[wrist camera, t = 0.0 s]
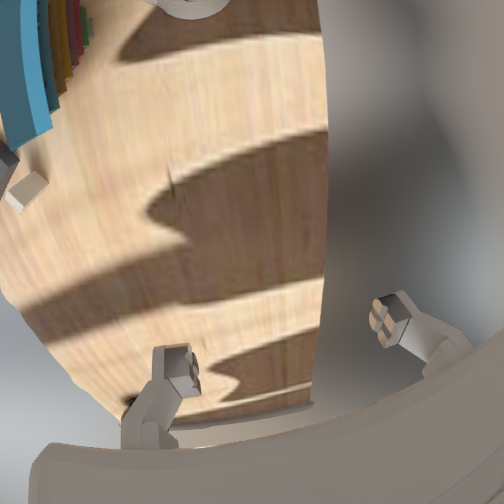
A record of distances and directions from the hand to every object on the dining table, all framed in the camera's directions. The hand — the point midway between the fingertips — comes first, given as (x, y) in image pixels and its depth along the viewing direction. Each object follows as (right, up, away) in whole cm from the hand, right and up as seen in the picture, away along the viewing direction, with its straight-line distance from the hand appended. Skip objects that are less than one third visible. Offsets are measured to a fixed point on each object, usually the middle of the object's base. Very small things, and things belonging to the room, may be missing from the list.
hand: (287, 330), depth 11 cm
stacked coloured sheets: (-43, +43, +20) cm, 64 cm away
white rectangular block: (-48, +19, +35) cm, 62 cm away
